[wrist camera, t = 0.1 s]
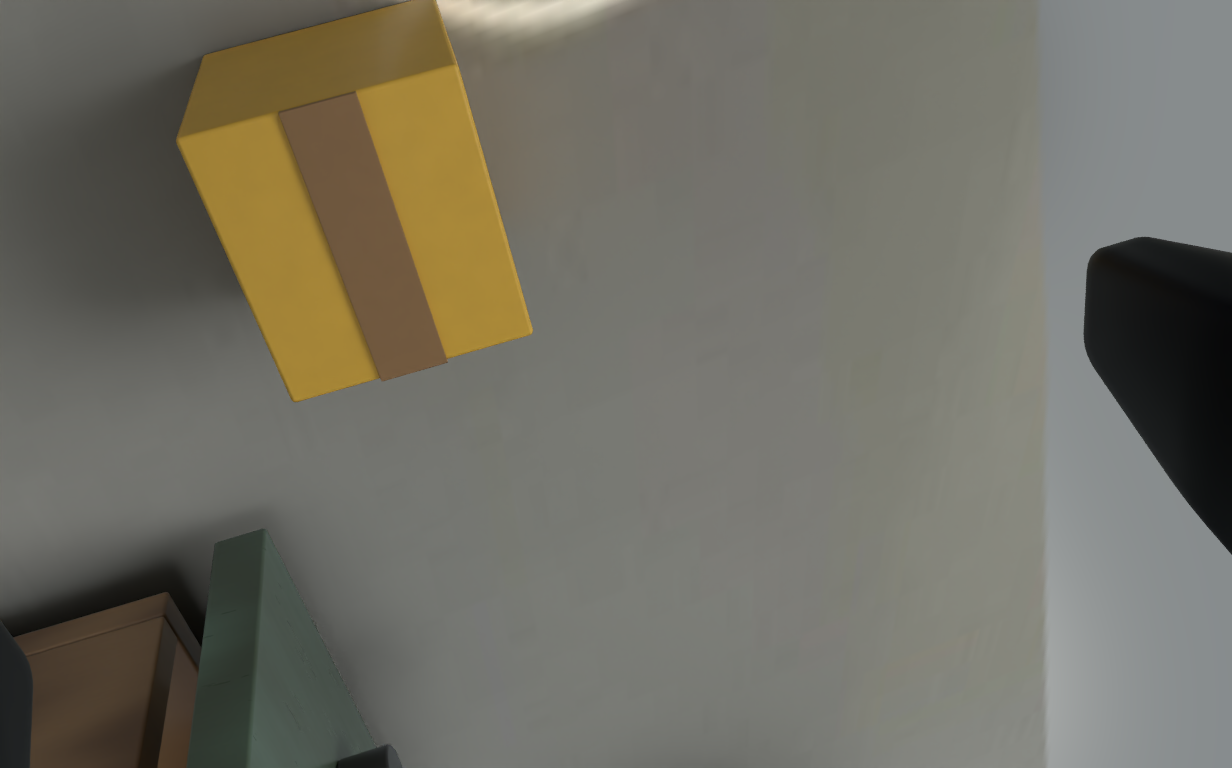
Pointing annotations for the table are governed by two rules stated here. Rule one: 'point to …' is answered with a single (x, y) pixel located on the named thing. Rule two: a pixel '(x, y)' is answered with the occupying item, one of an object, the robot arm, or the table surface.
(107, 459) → the table surface
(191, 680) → the drawer
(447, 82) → the small carton
